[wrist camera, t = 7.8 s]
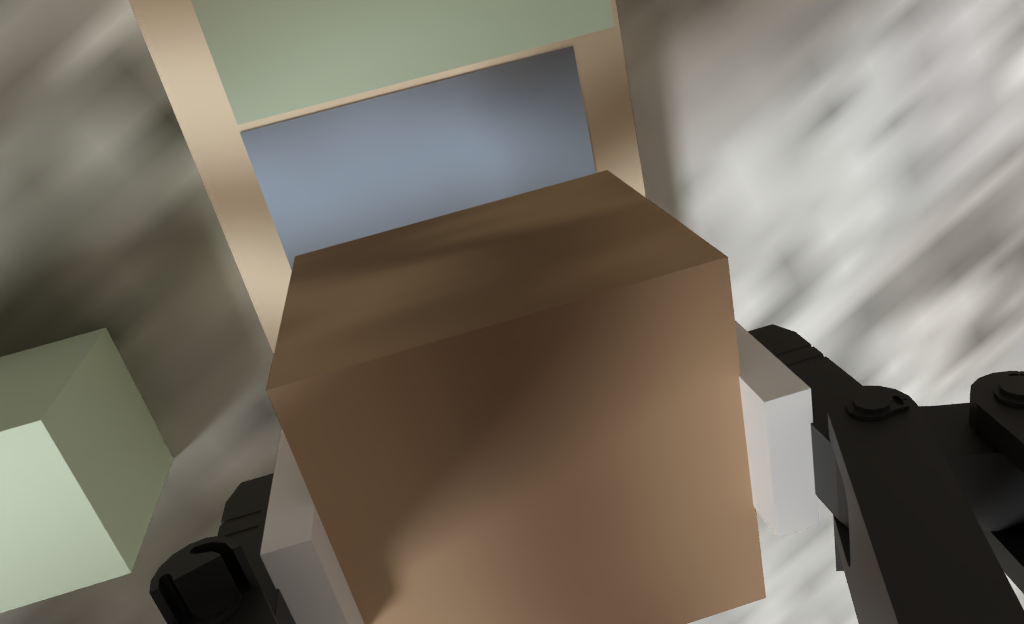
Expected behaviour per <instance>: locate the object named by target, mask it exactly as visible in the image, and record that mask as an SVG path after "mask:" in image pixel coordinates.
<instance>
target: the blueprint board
mask: <svg viewBox="0 0 1024 624" xmlns="http://www.w3.org/2000/svg"><path fill="white" fill-rule="evenodd" d="M610 1H611V8H612V14H613V20H614V27H613V28H609V29H605V30H602V31H598V32H594V33H590V34H586V35H582V36H579V37H575V38H571V39H567V40H563V41H559V42H555V43H552V44H548V45H544V46H540V47H536V48H532V49H528V50H525V51H521V52H517V53H513V54H509V55H505V56H502V57H498V58H494V59H490V60H486V61H482V62H478V63H475V64H471V65H467V66H463V67H459V68H455V69H451V70H448V71H444V72H440V73H436V74H432V75H428V76H425V77H421V78H417V79H413V80H409V81H405V82H401V83H398V84H394V85H390V86H386V87H382V88H378V89H374V90H371V91H367V92H363V93H359V94H355V95H351V96H348V97H344V98H340V99H336V100H332V101H328V102H324V103H321V104H317V105H313V106H309V107H305V108H301V109H297V110H294V111H290V112H286V113H282V114H278V115H274V116H271V117H267V118H263V119H259V120H255V121H251V122H247V123H244V124H240V125H237V122H236V119H235V117H234V114H233V111H232V109H231V106H230V103H229V101H228V98H227V95H226V93H225V90H224V87H223V85H222V82H221V79H220V77H219V74H218V71H217V69H216V66H215V63H214V61H213V58H212V56H211V53H210V50H209V48H208V45H207V42H206V40H205V37H204V34H203V32H202V29H201V26H200V24H199V21H198V18H197V16H196V13H195V10H194V8H193V5H192V2H191V0H129V3H130V5H131V7H132V10H133V12H134V15H135V17H136V20H137V22H138V25H139V27H140V29H141V32H142V34H143V37H144V39H145V42H146V44H147V47H148V49H149V51H150V54H151V56H152V59H153V61H154V64H155V66H156V69H157V71H158V73H159V76H160V78H161V81H162V83H163V86H164V88H165V91H166V93H167V95H168V98H169V100H170V103H171V105H172V108H173V110H174V113H175V115H176V117H177V120H178V122H179V125H180V127H181V130H182V132H183V135H184V137H185V139H186V142H187V144H188V147H189V149H190V152H191V154H192V157H193V159H194V161H195V164H196V166H197V169H198V171H199V174H200V176H201V179H202V181H203V183H204V186H205V188H206V191H207V193H208V196H209V198H210V201H211V203H212V205H213V208H214V210H215V213H216V215H217V218H218V220H219V223H220V225H221V227H222V230H223V232H224V235H225V237H226V240H227V242H228V245H229V247H230V249H231V252H232V254H233V257H234V259H235V262H236V264H237V267H238V269H239V271H240V274H241V276H242V279H243V281H244V284H245V286H246V289H247V291H248V293H249V296H250V298H251V301H252V303H253V306H254V308H255V311H256V313H257V315H258V318H259V320H260V323H261V325H262V328H263V330H264V333H265V335H266V337H267V340H268V342H269V345H270V347H271V350H272V352H273V355H274V351H275V347H276V342H277V338H278V333H279V328H280V324H281V319H282V314H283V310H284V305H285V300H286V296H287V291H288V287H289V282H290V277H291V273H292V268H293V263H294V259H295V256H298V255H301V254H305V253H308V252H312V251H316V250H319V249H323V248H327V247H330V246H334V245H337V244H341V243H345V242H348V241H352V240H355V239H359V238H363V237H366V236H370V235H374V234H377V233H381V232H384V231H388V230H392V229H395V228H399V227H403V226H406V225H410V224H413V223H417V222H421V221H424V220H428V219H432V218H435V217H439V216H442V215H446V214H450V213H453V212H457V211H461V210H464V209H468V208H471V207H475V206H479V205H482V204H486V203H489V202H493V201H497V200H500V199H504V198H508V197H511V196H515V195H518V194H522V193H526V192H529V191H533V190H537V189H540V188H544V187H547V186H551V185H555V184H558V183H562V182H566V181H569V180H573V179H576V178H580V177H584V176H587V175H591V174H594V173H598V172H602V171H605V170H608V171H610V172H611V173H612V174H614V175H615V176H617V177H618V178H619V179H621V180H622V181H623V182H625V183H626V184H628V185H629V186H630V187H632V188H633V189H635V190H636V191H637V192H639V193H640V194H641V195H643V196H644V197H646V196H645V189H644V183H643V176H642V170H641V163H640V156H639V150H638V143H637V137H636V130H635V124H634V117H633V111H632V104H631V97H630V91H629V84H628V78H627V71H626V65H625V58H624V51H623V45H622V38H621V32H620V25H619V19H618V12H617V6H616V0H610Z"/></svg>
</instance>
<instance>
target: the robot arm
mask: <svg viewBox="0 0 1024 624" xmlns="http://www.w3.org/2000/svg"><path fill="white" fill-rule="evenodd" d="M735 327H736V336H737V345H738V354H739V363H740V372H741V375H740V376H739V383H740V391H741V400H742V409H743V418H744V427H745V436H746V444H747V453H748V462H749V471H750V480H751V489H752V497H753V506H754V508H755V509H756V510H757V512H758V513H759V514H760V516H761V517H762V518H763V520H764V521H765V522H766V524H767V525H768V526H769V528H770V529H771V530H772V532H773V533H774V534H775V536H776V537H777V538H780V537H784V536H787V535H790V534H793V533H796V532H799V531H803V530H806V529H809V528H812V527H815V526H818V525H820V519H819V504H818V498H819V499H820V500H821V501H822V502H823V503H824V504H825V506H826V507H827V508H828V509H829V510H830V511H831V512H832V513H833V518H834V536H835V554H836V571H844V572H845V576H846V579H847V583H848V586H849V590H850V594H851V597H852V601H853V604H854V608H855V612H856V615H857V619H858V622H859V624H1024V610H1023V608H1022V606H1021V604H1020V602H1019V600H1018V598H1017V596H1016V594H1015V592H1014V590H1013V589H1012V587H1011V585H1010V583H1009V581H1008V579H1007V577H1006V575H1007V576H1008V577H1009V578H1010V579H1011V580H1012V581H1013V582H1014V583H1015V585H1016V586H1017V587H1018V588H1019V589H1020V590H1021V591H1022V592H1023V594H1024V372H1023V371H1020V372H1018V371H1006V372H997V373H991V374H989V375H986V376H983V377H980V378H978V379H977V380H976V381H975V382H974V383H973V384H972V385H971V391H970V403H962V404H951V405H939V406H918V405H917V404H916V403H915V402H914V401H913V400H912V399H911V397H910V396H908V395H906V394H904V393H902V392H900V391H898V390H896V389H892V388H887V387H882V386H862V385H861V384H860V383H859V382H857V381H856V380H855V379H854V378H852V377H851V376H850V375H849V374H847V373H846V372H845V371H844V370H842V369H841V368H840V367H839V366H837V365H836V364H835V363H834V362H832V361H831V360H830V359H829V358H827V357H824V356H823V354H822V353H821V352H820V351H819V350H817V349H816V348H815V347H811V344H810V343H809V342H807V341H806V340H805V339H804V338H802V337H801V336H800V335H799V334H797V333H796V332H794V331H791V330H788V329H785V328H782V327H779V326H776V325H773V324H772V325H768V326H765V327H762V328H758V329H755V330H751V331H748V332H747V331H746V330H745V329H744V328H743V327H742V326H741V325H740V324H738V323H737V322H736V321H735ZM221 523H222V525H221V526H220V528H219V532H218V536H216V537H209V538H205V539H202V540H200V541H197V542H195V543H192V544H189V545H188V546H186V547H184V548H183V549H181V550H180V551H178V552H177V553H175V554H173V555H172V556H171V557H170V558H169V559H168V560H167V561H166V562H165V563H164V564H163V565H161V566H160V567H159V569H158V570H157V572H156V574H155V575H154V577H153V578H152V580H151V585H150V595H151V596H152V598H153V600H154V602H155V603H156V605H157V607H158V609H159V610H160V612H161V614H162V615H163V617H164V619H165V621H166V622H167V624H364V622H363V619H362V617H361V615H360V612H359V610H358V607H357V605H356V603H355V600H354V598H353V596H352V593H351V591H350V588H349V586H348V584H347V581H346V579H345V577H344V574H343V572H342V569H341V567H340V565H339V562H338V560H337V558H336V555H335V553H334V550H333V548H332V546H331V543H330V541H329V539H328V536H327V534H326V531H325V529H324V527H323V524H322V522H321V520H320V517H319V515H318V512H317V510H316V508H315V505H314V503H313V501H312V498H311V496H310V494H309V491H308V489H307V487H306V484H305V482H304V479H303V477H302V475H301V472H300V470H299V468H298V465H297V463H296V460H295V458H294V456H293V453H292V451H291V449H290V446H289V444H288V441H287V439H286V437H285V434H284V432H283V430H282V428H281V434H280V440H279V446H278V452H277V457H276V463H275V469H274V473H273V474H269V475H266V476H263V477H259V478H256V479H252V480H249V481H246V482H242V483H241V484H240V485H239V486H238V487H237V489H236V490H235V491H234V493H233V494H232V495H231V497H230V498H229V499H228V501H227V502H226V504H225V508H224V512H223V516H222V520H221ZM1004 572H1005V573H1006V575H1005V573H1004Z"/></svg>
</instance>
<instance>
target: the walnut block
mask: <svg viewBox="0 0 1024 624" xmlns="http://www.w3.org/2000/svg"><path fill="white" fill-rule="evenodd" d="M740 375H741V372H740V363H739V354H738V345H737V336H736V327H735V318H734V309H733V300H732V291H731V282H730V274H729V265H728V257H727V256H726V255H724V254H723V253H722V252H720V251H719V250H717V249H716V248H715V247H713V246H712V245H710V244H709V243H708V242H706V241H705V240H704V239H702V238H701V237H699V236H698V235H697V234H695V233H694V232H693V231H691V230H690V229H688V228H687V227H686V226H684V225H683V224H681V223H680V222H679V221H677V220H676V219H675V218H673V217H672V216H670V215H669V214H668V213H666V212H665V211H664V210H662V209H661V208H659V207H658V206H657V205H655V204H654V203H652V202H651V201H650V200H648V199H647V198H646V197H644V196H643V195H641V194H640V193H639V192H637V191H636V190H635V189H633V188H632V187H630V186H629V185H628V184H626V183H625V182H623V181H622V180H621V179H619V178H618V177H617V176H615V175H614V174H612V173H611V172H610V171H608V170H605V171H602V172H598V173H594V174H591V175H587V176H584V177H580V178H576V179H573V180H569V181H566V182H562V183H558V184H555V185H551V186H547V187H544V188H540V189H537V190H533V191H529V192H526V193H522V194H518V195H515V196H511V197H508V198H504V199H500V200H497V201H493V202H489V203H486V204H482V205H479V206H475V207H471V208H468V209H464V210H461V211H457V212H453V213H450V214H446V215H442V216H439V217H435V218H432V219H428V220H424V221H421V222H417V223H413V224H410V225H406V226H403V227H399V228H395V229H392V230H388V231H384V232H381V233H377V234H374V235H370V236H366V237H363V238H359V239H355V240H352V241H348V242H345V243H341V244H337V245H334V246H330V247H327V248H323V249H319V250H316V251H312V252H308V253H305V254H301V255H298V256H295V259H294V263H293V268H292V273H291V277H290V282H289V287H288V291H287V296H286V300H285V305H284V310H283V314H282V319H281V324H280V328H279V333H278V338H277V342H276V347H275V351H274V356H273V361H272V365H271V370H270V375H269V379H268V384H267V389H266V392H267V394H268V396H269V399H270V401H271V403H272V406H273V408H274V411H275V413H276V415H277V418H278V420H279V422H280V425H281V427H282V430H283V432H284V434H285V437H286V439H287V441H288V444H289V446H290V449H291V451H292V453H293V456H294V458H295V460H296V463H297V465H298V468H299V470H300V472H301V475H302V477H303V479H304V482H305V484H306V487H307V489H308V491H309V494H310V496H311V498H312V501H313V503H314V505H315V508H316V510H317V512H318V515H319V517H320V520H321V522H322V524H323V527H324V529H325V531H326V534H327V536H328V539H329V541H330V543H331V546H332V548H333V550H334V553H335V555H336V558H337V560H338V562H339V565H340V567H341V569H342V572H343V574H344V577H345V579H346V581H347V584H348V586H349V588H350V591H351V593H352V596H353V598H354V600H355V603H356V605H357V607H358V610H359V612H360V615H361V617H362V619H363V622H364V624H687V623H690V622H694V621H697V620H700V619H703V618H706V617H709V616H712V615H715V614H718V613H721V612H724V611H727V610H730V609H733V608H736V607H739V606H742V605H745V604H748V603H751V602H754V601H757V600H760V599H763V598H766V595H765V586H764V577H763V568H762V559H761V550H760V541H759V532H758V523H757V514H756V509H755V508H754V506H753V497H752V489H751V480H750V471H749V462H748V453H747V444H746V436H745V427H744V418H743V409H742V400H741V391H740V383H739V376H740Z"/></svg>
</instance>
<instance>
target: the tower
mask: <svg viewBox="0 0 1024 624" xmlns="http://www.w3.org/2000/svg"><path fill="white" fill-rule="evenodd" d="M191 2H192V5H193V8H194V10H195V13H196V16H197V18H198V21H199V24H200V26H201V29H202V32H203V34H204V37H205V40H206V42H207V45H208V48H209V50H210V53H211V56H212V58H213V61H214V63H215V66H216V69H217V71H218V74H219V77H220V79H221V82H222V85H223V87H224V90H225V93H226V95H227V98H228V101H229V103H230V106H231V109H232V111H233V114H234V117H235V119H236V122H237V125H240V124H244V123H247V122H251V121H255V120H259V119H263V118H267V117H271V116H274V115H278V114H282V113H286V112H290V111H294V110H297V109H301V108H305V107H309V106H313V105H317V104H321V103H324V102H328V101H332V100H336V99H340V98H344V97H348V96H351V95H355V94H359V93H363V92H367V91H371V90H374V89H378V88H382V87H386V86H390V85H394V84H398V83H401V82H405V81H409V80H413V79H417V78H421V77H425V76H428V75H432V74H436V73H440V72H444V71H448V70H451V69H455V68H459V67H463V66H467V65H471V64H475V63H478V62H482V61H486V60H490V59H494V58H498V57H502V56H505V55H509V54H513V53H517V52H521V51H525V50H528V49H532V48H536V47H540V46H544V45H548V44H552V43H555V42H559V41H563V40H567V39H571V38H575V37H579V36H582V35H586V34H590V33H594V32H598V31H602V30H605V29H609V28H613V27H614V20H613V14H612V8H611V1H610V0H191Z"/></svg>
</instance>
